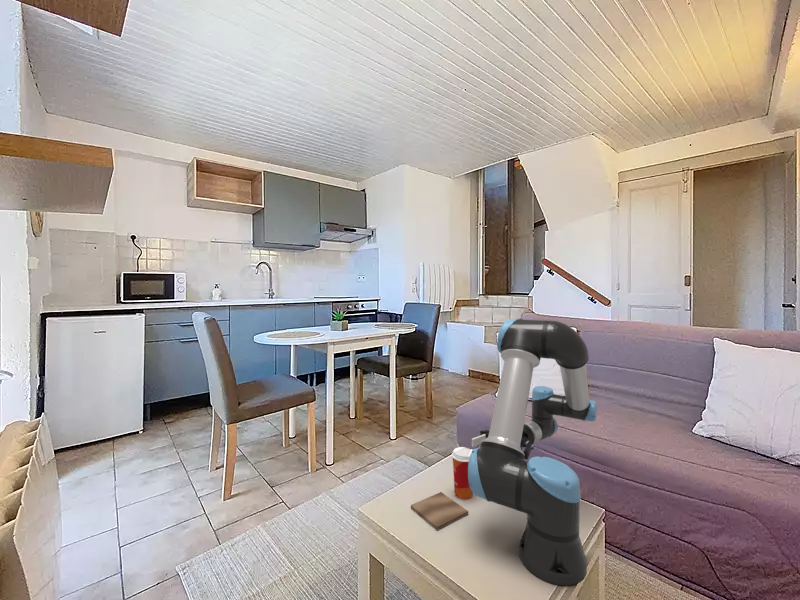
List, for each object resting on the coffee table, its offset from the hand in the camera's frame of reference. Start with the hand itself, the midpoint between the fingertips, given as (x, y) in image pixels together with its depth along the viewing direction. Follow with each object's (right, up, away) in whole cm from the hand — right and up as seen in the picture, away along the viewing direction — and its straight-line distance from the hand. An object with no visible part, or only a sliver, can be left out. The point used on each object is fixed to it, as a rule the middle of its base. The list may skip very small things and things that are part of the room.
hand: (487, 450), depth 121 cm
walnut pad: (-18, -12, -15) cm, 26 cm away
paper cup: (-9, -12, -6) cm, 16 cm away
